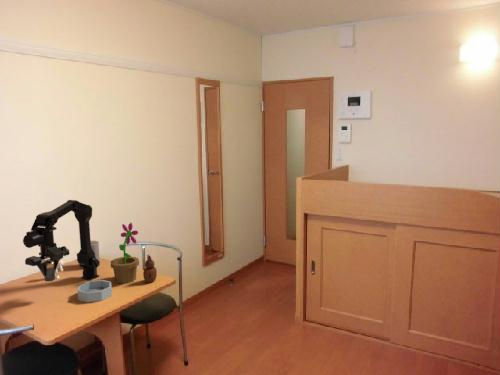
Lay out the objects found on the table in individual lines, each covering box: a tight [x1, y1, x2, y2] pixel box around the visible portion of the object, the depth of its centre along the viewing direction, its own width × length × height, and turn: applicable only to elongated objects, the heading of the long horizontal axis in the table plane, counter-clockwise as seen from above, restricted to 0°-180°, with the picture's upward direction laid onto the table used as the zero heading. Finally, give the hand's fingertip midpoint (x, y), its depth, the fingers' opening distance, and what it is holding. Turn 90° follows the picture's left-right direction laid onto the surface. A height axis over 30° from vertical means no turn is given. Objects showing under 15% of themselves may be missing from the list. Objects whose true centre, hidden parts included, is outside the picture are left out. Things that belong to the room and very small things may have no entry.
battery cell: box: [43, 258, 56, 282], centre depth 181 cm, size 4×4×10 cm
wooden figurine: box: [142, 254, 158, 284], centre depth 203 cm, size 7×6×15 cm
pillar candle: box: [81, 240, 100, 269], centre depth 226 cm, size 10×10×15 cm
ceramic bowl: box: [77, 279, 113, 303], centre depth 187 cm, size 15×15×4 cm
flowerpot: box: [110, 222, 140, 284], centre depth 205 cm, size 14×14×30 cm
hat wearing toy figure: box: [55, 259, 64, 280], centre depth 208 cm, size 9×4×12 cm, turn 118°
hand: (49, 274), depth 182 cm, fingers closed on battery cell, 4 cm apart
